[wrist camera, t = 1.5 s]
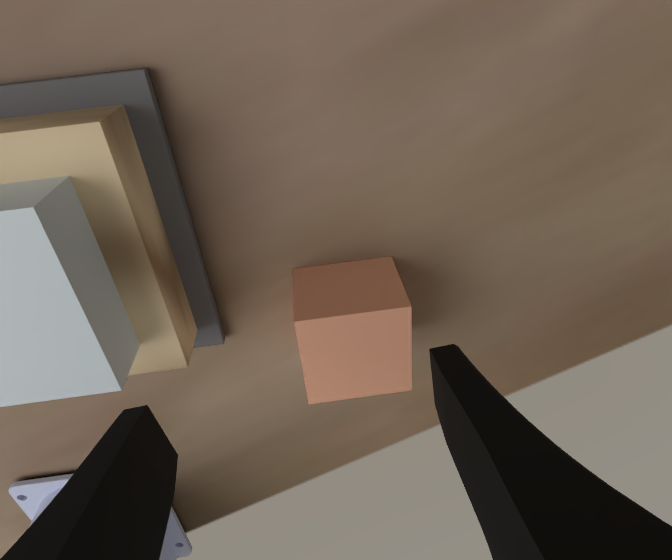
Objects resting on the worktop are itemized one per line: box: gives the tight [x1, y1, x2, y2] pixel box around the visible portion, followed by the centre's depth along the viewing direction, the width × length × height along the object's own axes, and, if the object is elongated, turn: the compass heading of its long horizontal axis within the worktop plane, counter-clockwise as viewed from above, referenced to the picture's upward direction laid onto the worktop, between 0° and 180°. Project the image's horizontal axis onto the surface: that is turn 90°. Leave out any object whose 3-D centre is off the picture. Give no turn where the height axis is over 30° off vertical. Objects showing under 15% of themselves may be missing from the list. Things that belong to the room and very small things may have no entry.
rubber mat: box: [0, 68, 225, 348], centre depth 19 cm, size 12×12×1 cm
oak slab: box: [0, 104, 197, 375], centre depth 18 cm, size 10×10×2 cm
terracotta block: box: [293, 256, 412, 404], centre depth 20 cm, size 4×4×4 cm
